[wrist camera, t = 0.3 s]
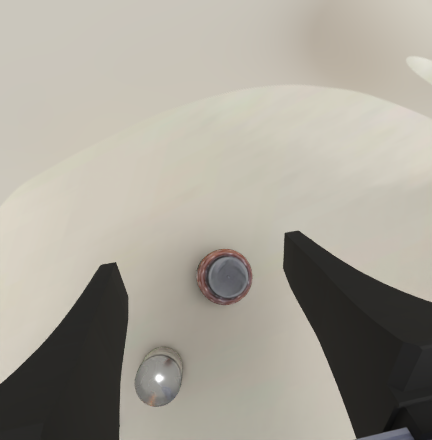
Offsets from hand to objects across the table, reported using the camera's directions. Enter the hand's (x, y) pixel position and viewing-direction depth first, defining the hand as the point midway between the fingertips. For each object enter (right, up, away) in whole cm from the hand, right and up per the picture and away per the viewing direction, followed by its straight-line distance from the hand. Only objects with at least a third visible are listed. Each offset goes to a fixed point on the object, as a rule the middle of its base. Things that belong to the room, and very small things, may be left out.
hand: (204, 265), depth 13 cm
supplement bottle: (+1, -5, +28) cm, 29 cm away
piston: (-6, -17, +26) cm, 31 cm away
